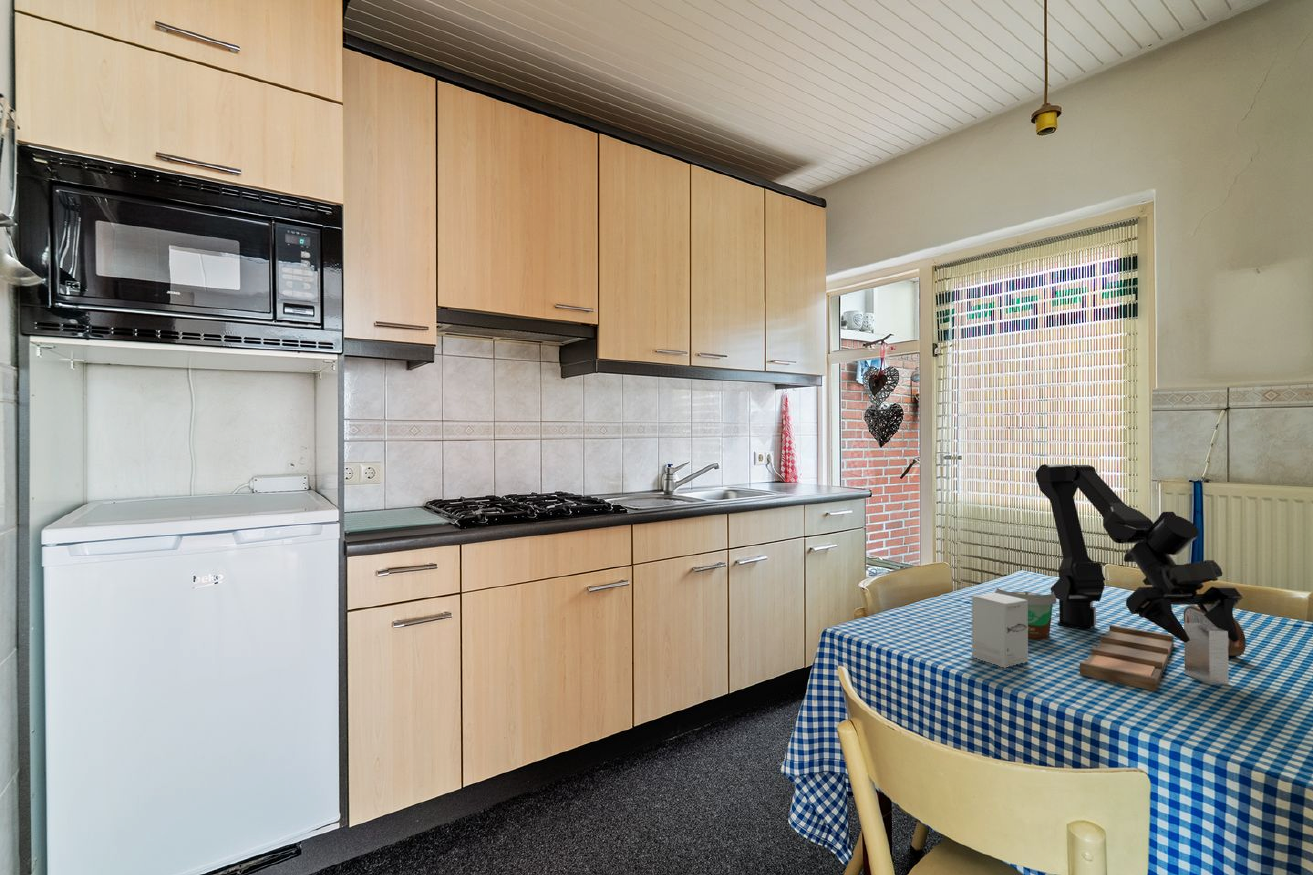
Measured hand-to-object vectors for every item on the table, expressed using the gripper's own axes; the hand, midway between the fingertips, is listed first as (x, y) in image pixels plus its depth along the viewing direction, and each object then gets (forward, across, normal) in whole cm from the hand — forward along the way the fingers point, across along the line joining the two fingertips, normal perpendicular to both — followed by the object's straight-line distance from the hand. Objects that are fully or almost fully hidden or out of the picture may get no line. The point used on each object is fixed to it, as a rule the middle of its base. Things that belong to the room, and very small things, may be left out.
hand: (1212, 641), depth 110 cm
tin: (-7, +16, +18) cm, 25 cm away
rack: (-3, -6, +13) cm, 15 cm away
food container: (-13, -17, +24) cm, 32 cm away
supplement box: (-3, -32, +14) cm, 35 cm away
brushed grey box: (+4, 0, +6) cm, 7 cm away
